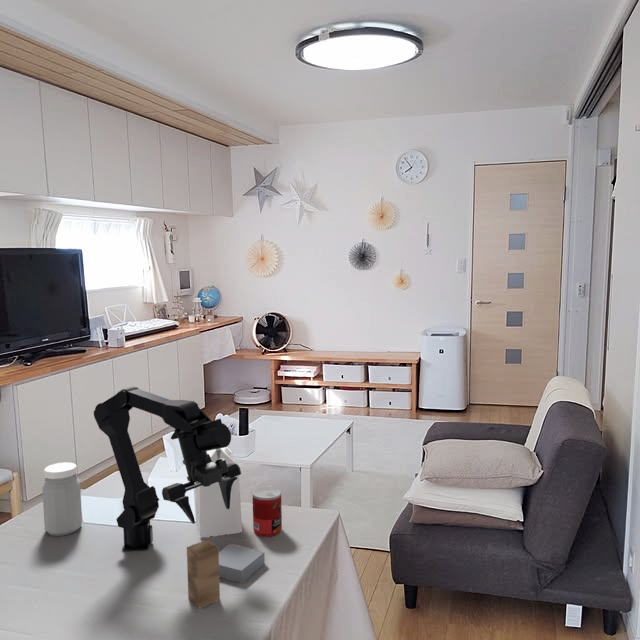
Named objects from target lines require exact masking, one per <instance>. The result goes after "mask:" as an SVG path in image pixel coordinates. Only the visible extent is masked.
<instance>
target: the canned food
mask: <svg viewBox="0 0 640 640" xmlns="http://www.w3.org/2000/svg"><path fill="white" fill-rule="evenodd" d="M282 513H283V512H282V491H281V490H280V489H278V488H274V487H261V488H257V489H254V490H253V492H252V525H253V526H252V527H253V528H252V529H253V532H254V534H255V535H257V536H260V537H267V538H269V537H273V536H277V535H279V534H280V533H281V531H282V529H283V525H282V524H283V521H282V519H283V517H282Z"/></svg>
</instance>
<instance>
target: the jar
mask: <svg viewBox="0 0 640 640" xmlns="http://www.w3.org/2000/svg"><path fill="white" fill-rule="evenodd" d="M77 465H78V464H76V463H74V462H68V461H67V462H66V461H65V462H56V463H52V464H50V465H47V466H46V467H44V469H43V472H44V473H43V474H44V477H45V478H44V482H43V485H42V487H41V489H42V490H41V491H42V504H43V508H42V509H43V521H44V522H43V523H44V531H46V532H47V533H48V534H49V535H50V536H57V537H59V536H67V535H71V534H73V533H75V532H76V531H78V530H79V529H80V528H81V526H82V525H83V513H82V509H83V508H82V493H81V479H79V478H78V472H77V471H78V466H77Z"/></svg>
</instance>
